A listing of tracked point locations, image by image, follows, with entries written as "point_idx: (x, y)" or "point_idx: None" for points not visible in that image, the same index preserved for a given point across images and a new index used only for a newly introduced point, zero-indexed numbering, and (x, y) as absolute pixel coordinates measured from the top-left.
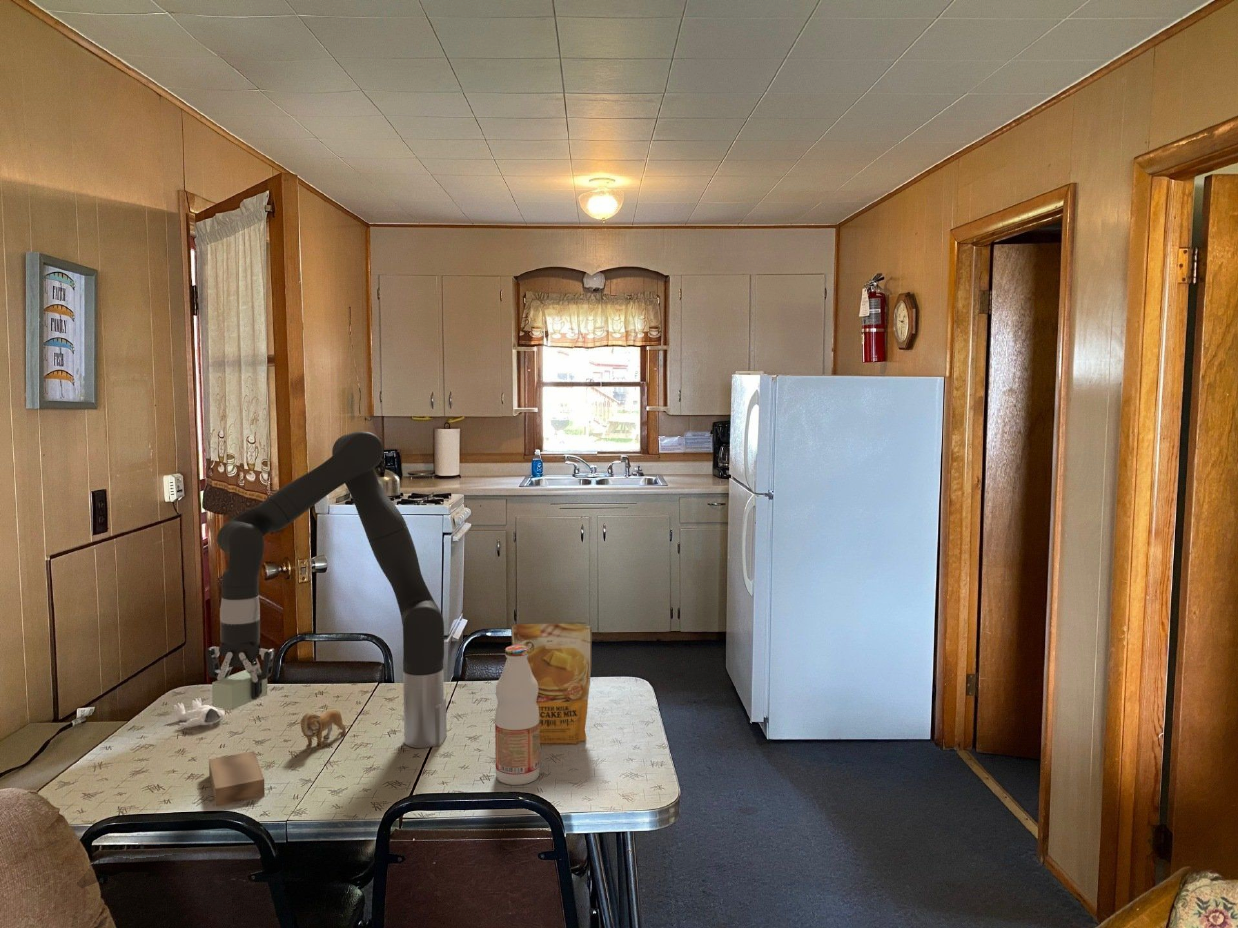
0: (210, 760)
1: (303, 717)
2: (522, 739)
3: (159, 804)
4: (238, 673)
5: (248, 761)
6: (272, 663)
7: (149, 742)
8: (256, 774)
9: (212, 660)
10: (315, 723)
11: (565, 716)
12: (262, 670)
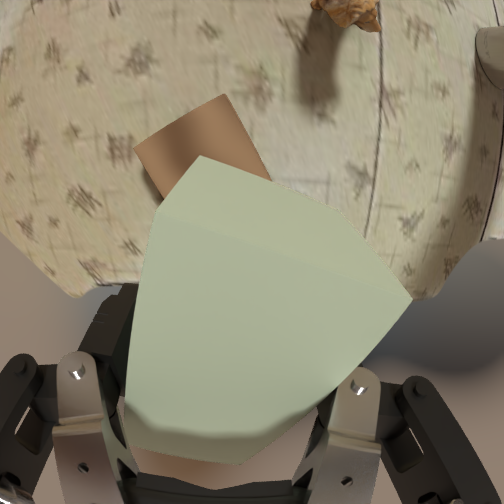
0: (139, 153)
1: (345, 4)
2: None
3: (127, 257)
4: (148, 358)
5: (234, 157)
6: (461, 446)
7: (5, 44)
8: None
9: (34, 484)
10: (376, 25)
11: None
12: (388, 462)
